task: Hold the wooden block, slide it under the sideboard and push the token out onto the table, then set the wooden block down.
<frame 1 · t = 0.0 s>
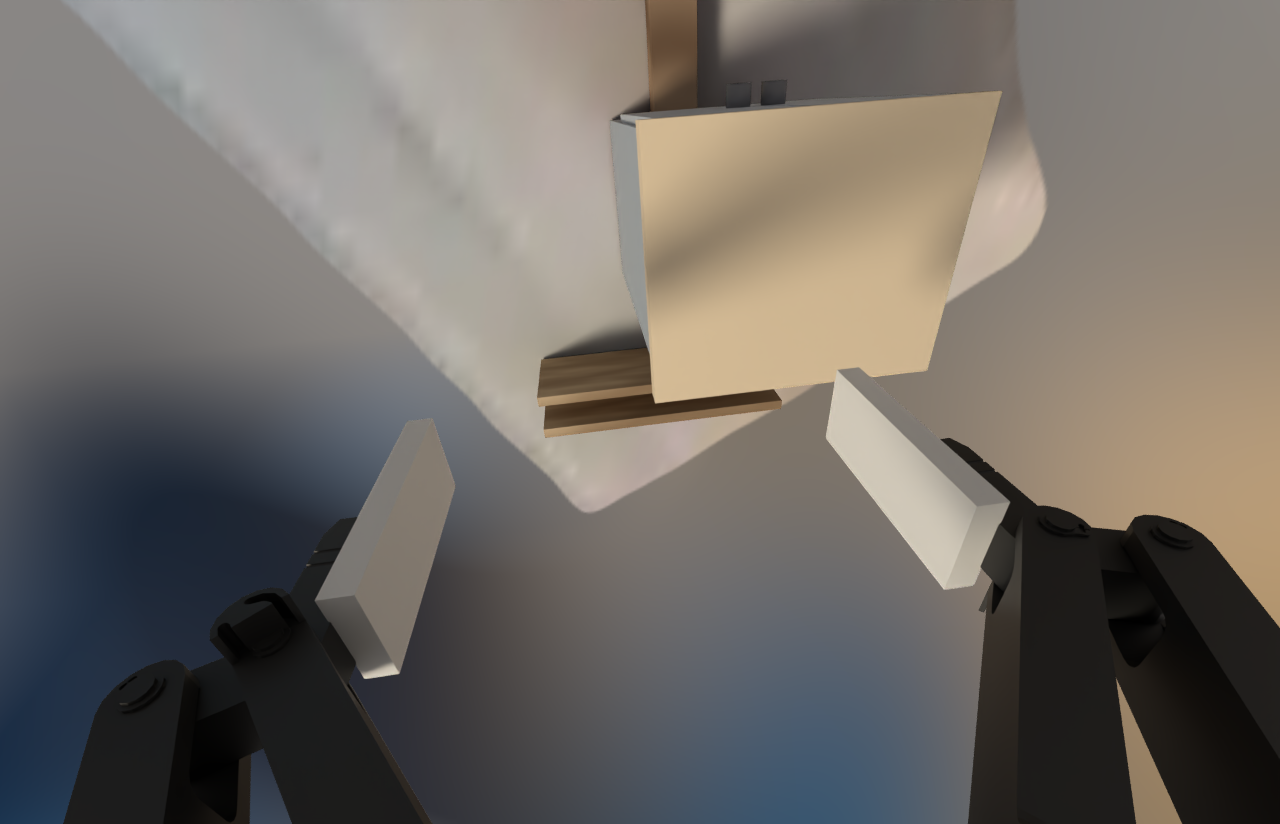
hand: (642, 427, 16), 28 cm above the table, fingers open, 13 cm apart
sideboard: (698, 194, 39), on the table
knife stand: (651, 365, 46), on the table
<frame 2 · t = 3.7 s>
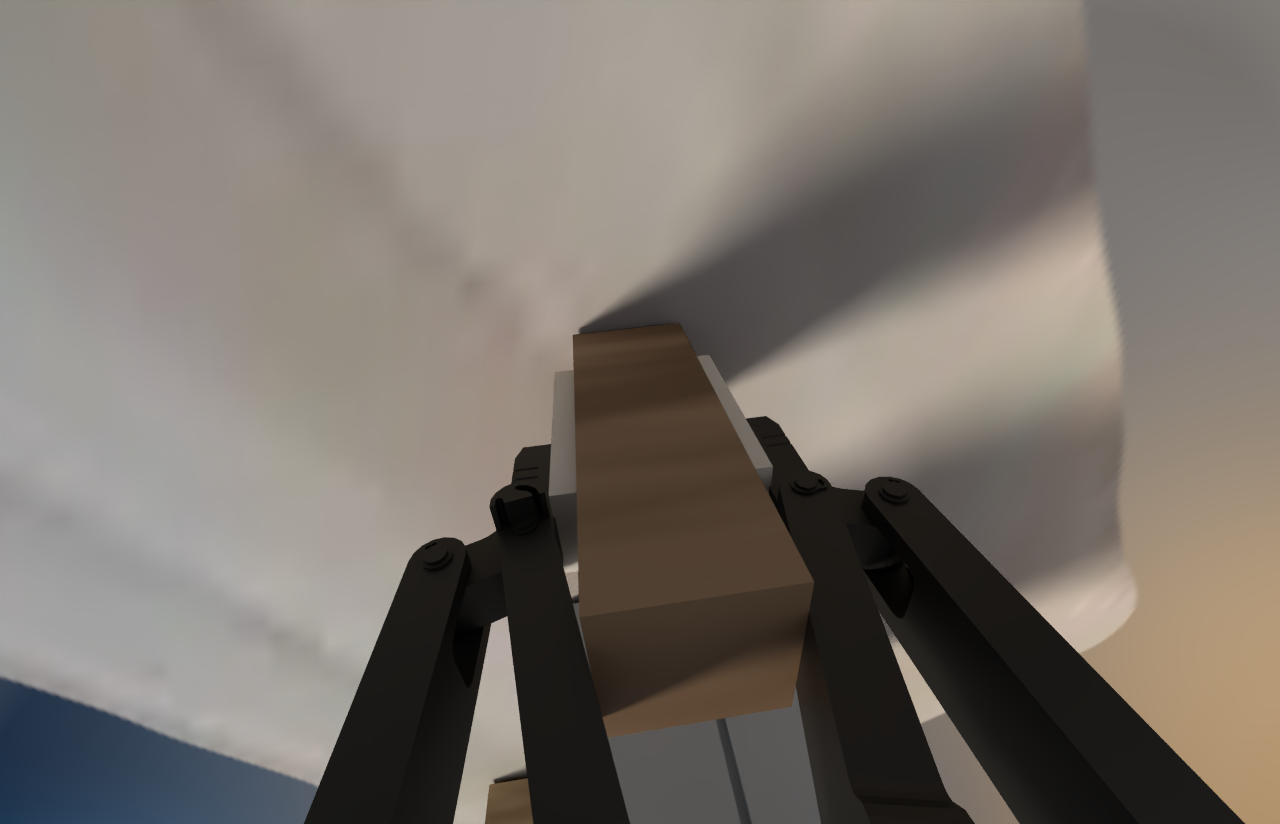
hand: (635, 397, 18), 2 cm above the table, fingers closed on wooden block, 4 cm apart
sideboard: (688, 647, 29), on the table
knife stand: (631, 772, 37), on the table
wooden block: (630, 376, 19), on the table, touching gripper
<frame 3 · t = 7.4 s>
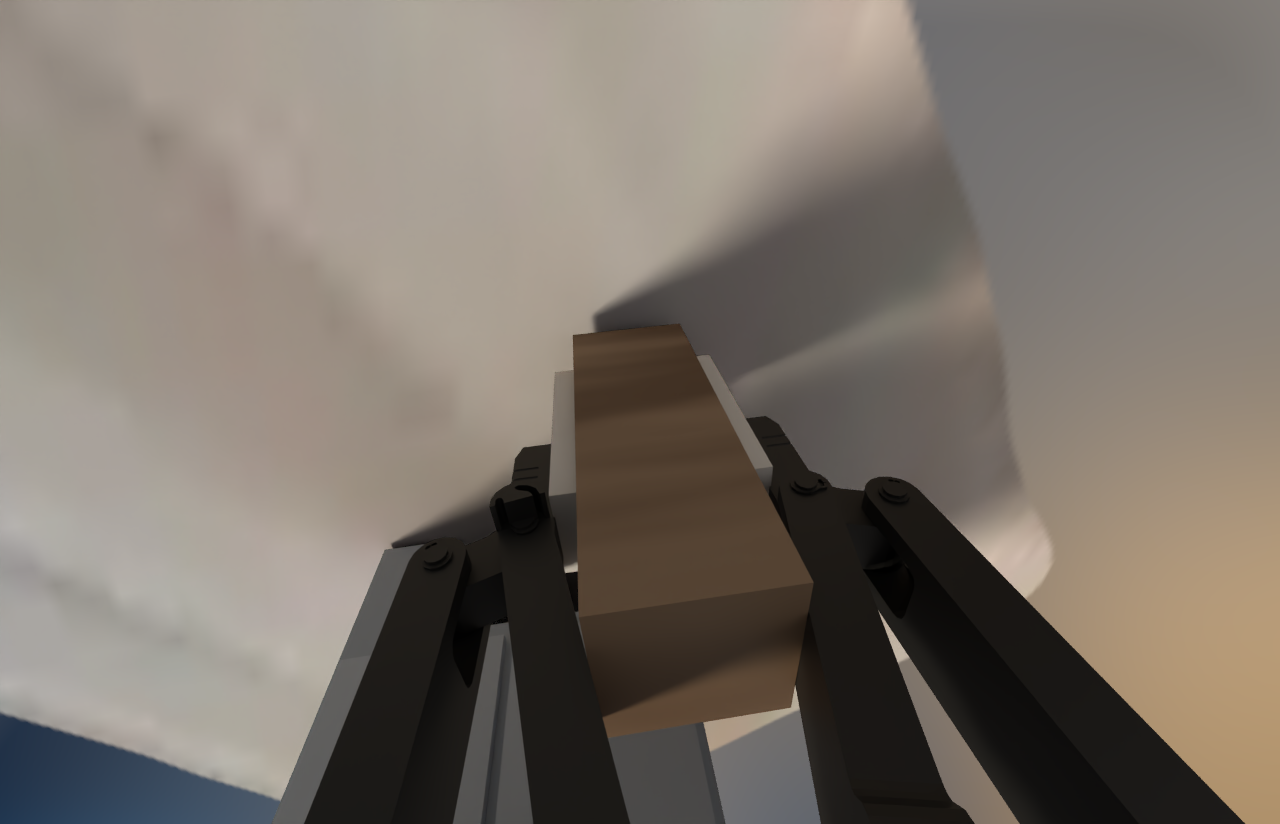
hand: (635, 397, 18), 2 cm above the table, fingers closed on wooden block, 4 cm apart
sideboard: (543, 603, 27), on the table
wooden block: (630, 376, 19), point 1 cm above the table, touching gripper, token
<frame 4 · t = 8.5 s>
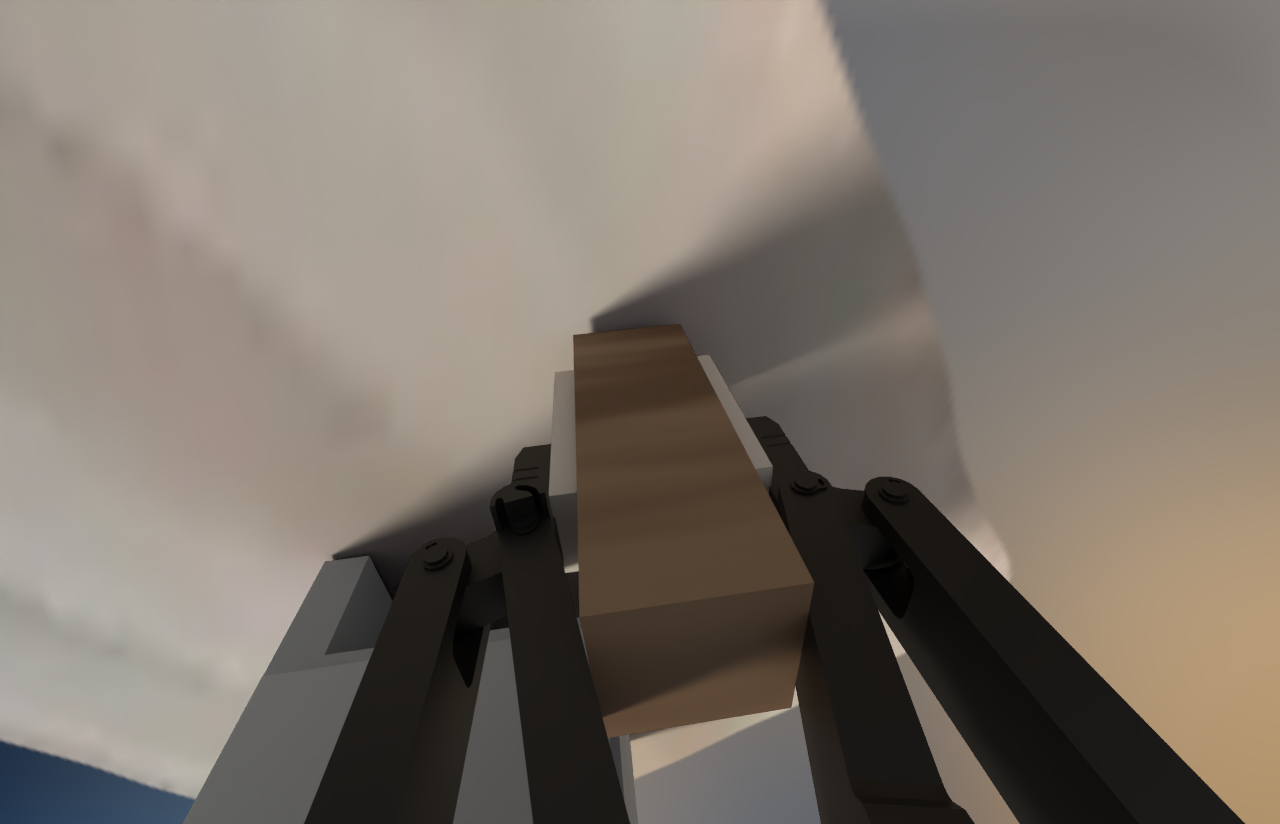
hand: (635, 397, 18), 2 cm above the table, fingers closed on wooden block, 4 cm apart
sideboard: (492, 615, 26), on the table
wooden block: (630, 376, 19), on the table, touching gripper
when the fingers open (2 cm above the table, at t = 9.2 s): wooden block stays where it is, on the table.
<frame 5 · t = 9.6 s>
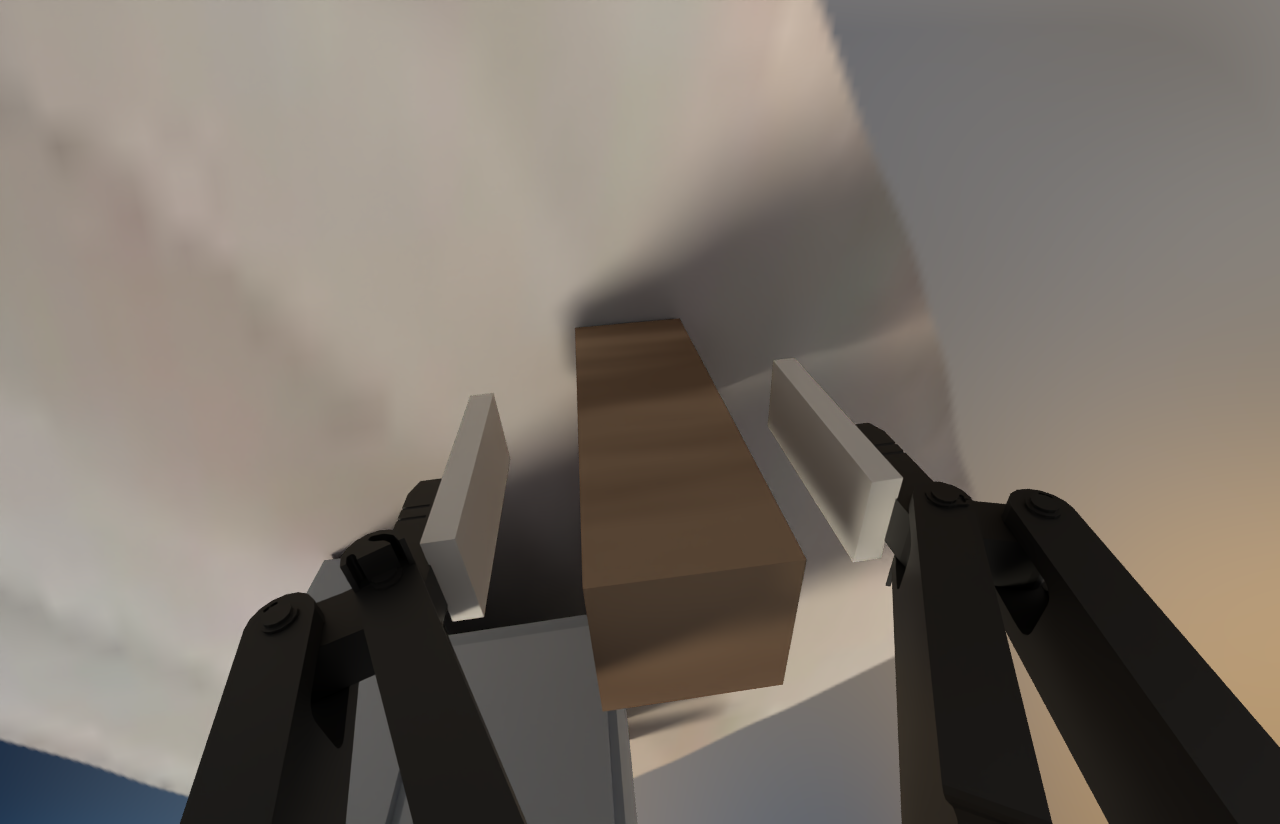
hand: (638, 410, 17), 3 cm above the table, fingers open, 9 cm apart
sideboard: (491, 614, 26), on the table
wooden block: (630, 370, 20), on the table
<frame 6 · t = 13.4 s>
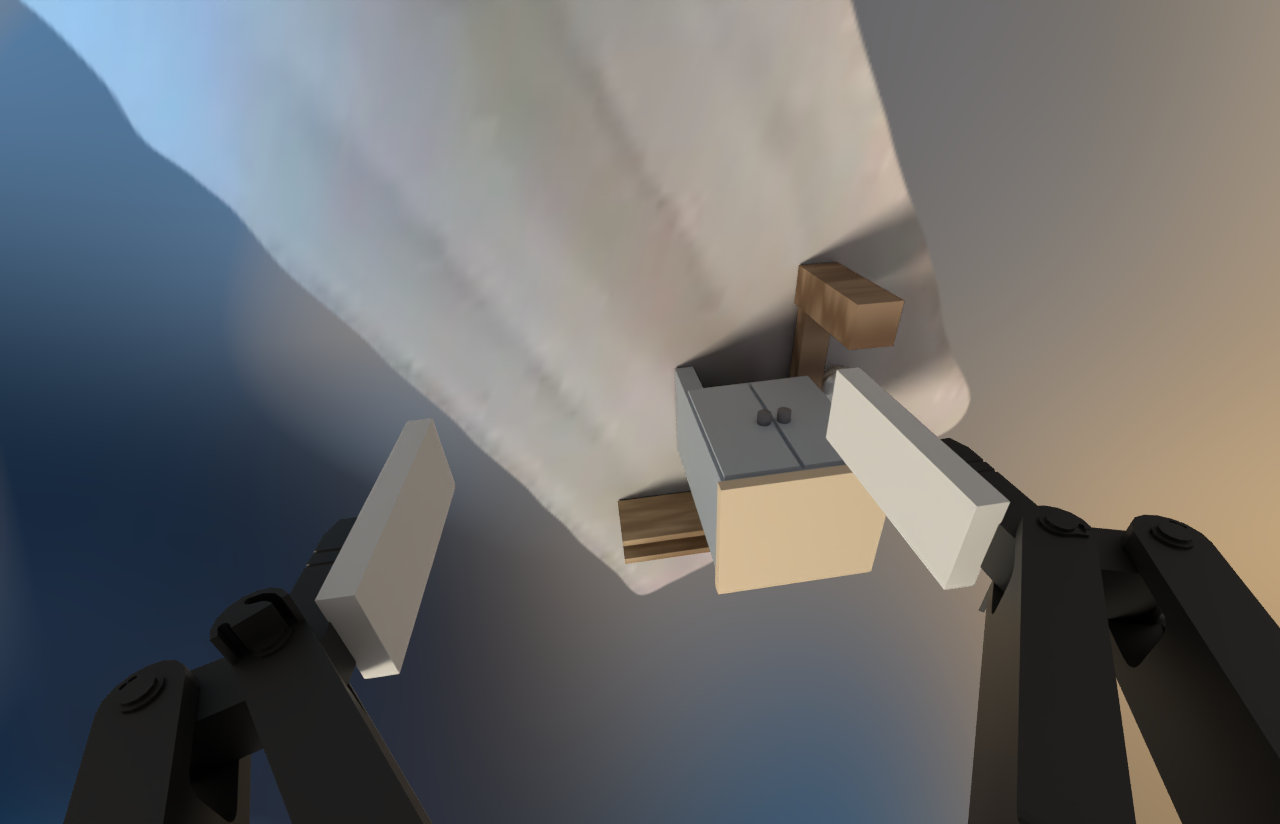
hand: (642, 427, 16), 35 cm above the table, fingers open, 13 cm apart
sideboard: (730, 404, 58), on the table
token: (833, 384, 59), on the table
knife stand: (694, 501, 65), on the table
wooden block: (815, 282, 51), on the table
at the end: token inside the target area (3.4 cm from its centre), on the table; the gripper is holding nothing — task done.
